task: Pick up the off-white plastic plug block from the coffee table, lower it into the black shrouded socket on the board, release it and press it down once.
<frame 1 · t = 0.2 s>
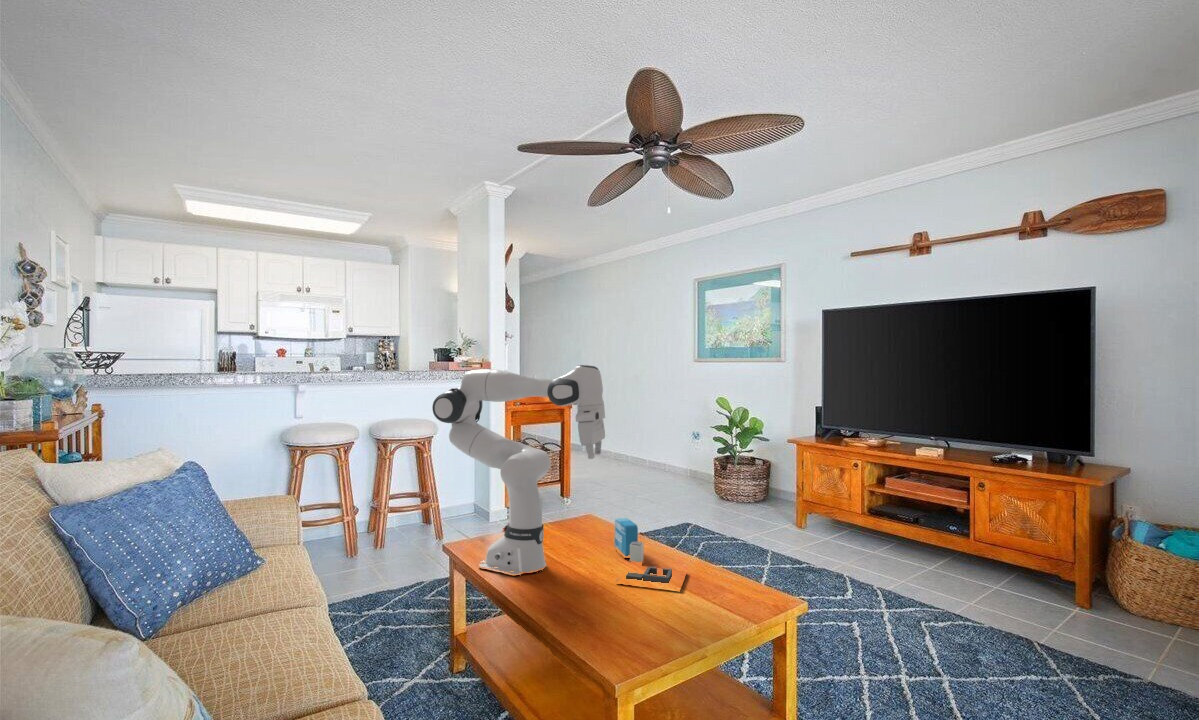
hand: (594, 456, 188), 39 cm above the table, tool pointing down, fingers open, 8 cm apart
plug: (636, 564, 199), on the table
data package: (625, 555, 209), on the table
board: (652, 579, 185), on the table
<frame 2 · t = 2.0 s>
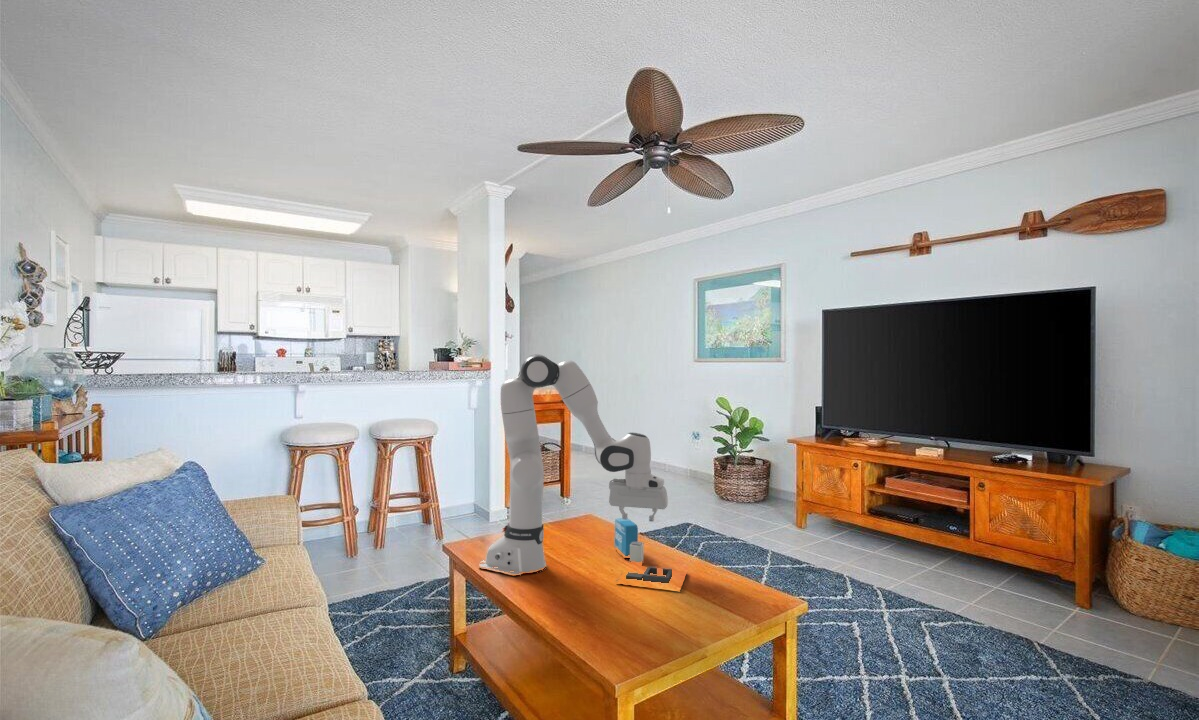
hand: (638, 520, 199), 15 cm above the table, tool pointing down, fingers open, 8 cm apart
nothing on the table moved.
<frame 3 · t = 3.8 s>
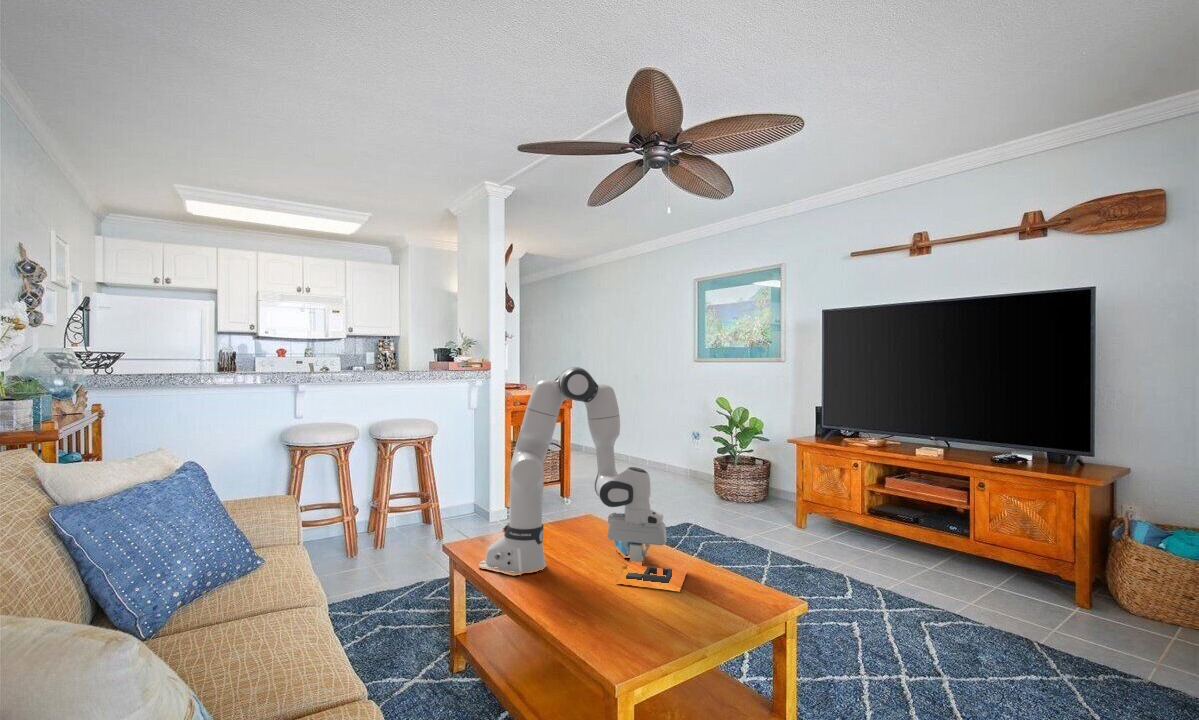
hand: (636, 555, 199), 3 cm above the table, tool pointing down, fingers closed on plug, 4 cm apart
plug: (636, 564, 199), on the table, touching gripper
everything else where it was.
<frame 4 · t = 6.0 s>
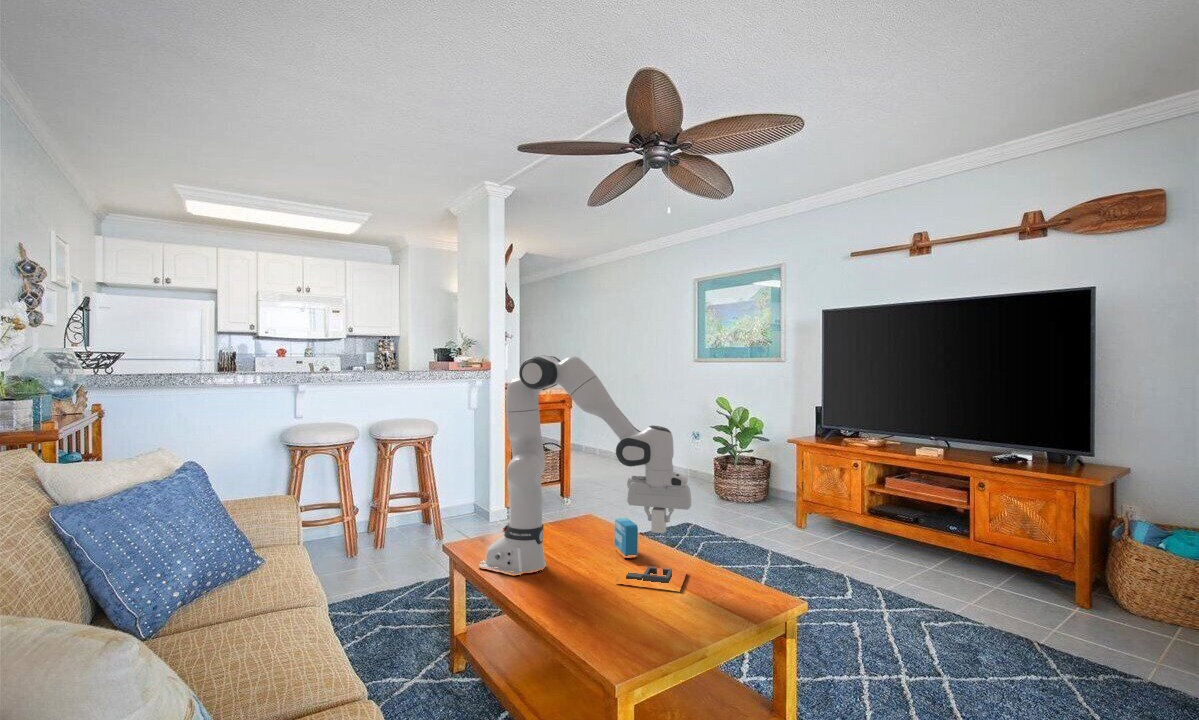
hand: (658, 521, 183), 19 cm above the table, tool pointing down, fingers closed on plug, 4 cm apart
plug: (658, 531, 183), point 16 cm above the table, touching gripper
everything else where it was.
when the fingers open (5 cm above the table, at t = 8.2 s): plug stays where it is, resting on board.
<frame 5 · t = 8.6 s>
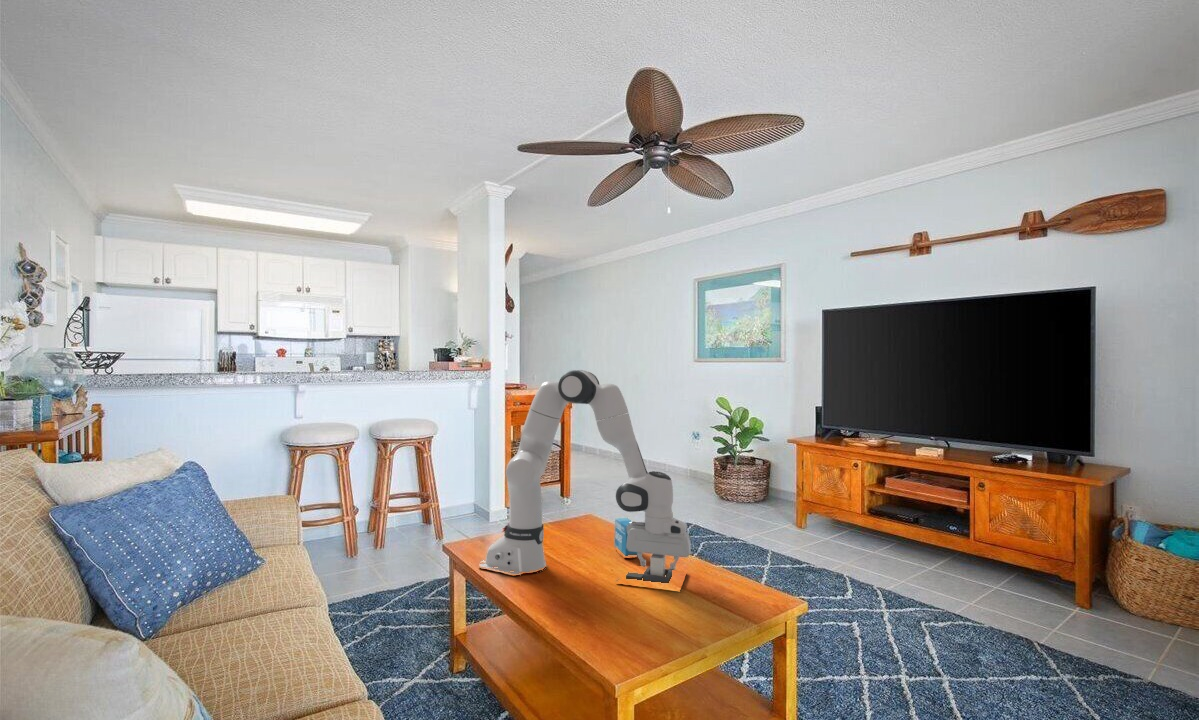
hand: (657, 567, 183), 5 cm above the table, tool pointing down, fingers open, 8 cm apart
plug: (657, 578, 183), point 1 cm above the table, touching board
everything else where it was.
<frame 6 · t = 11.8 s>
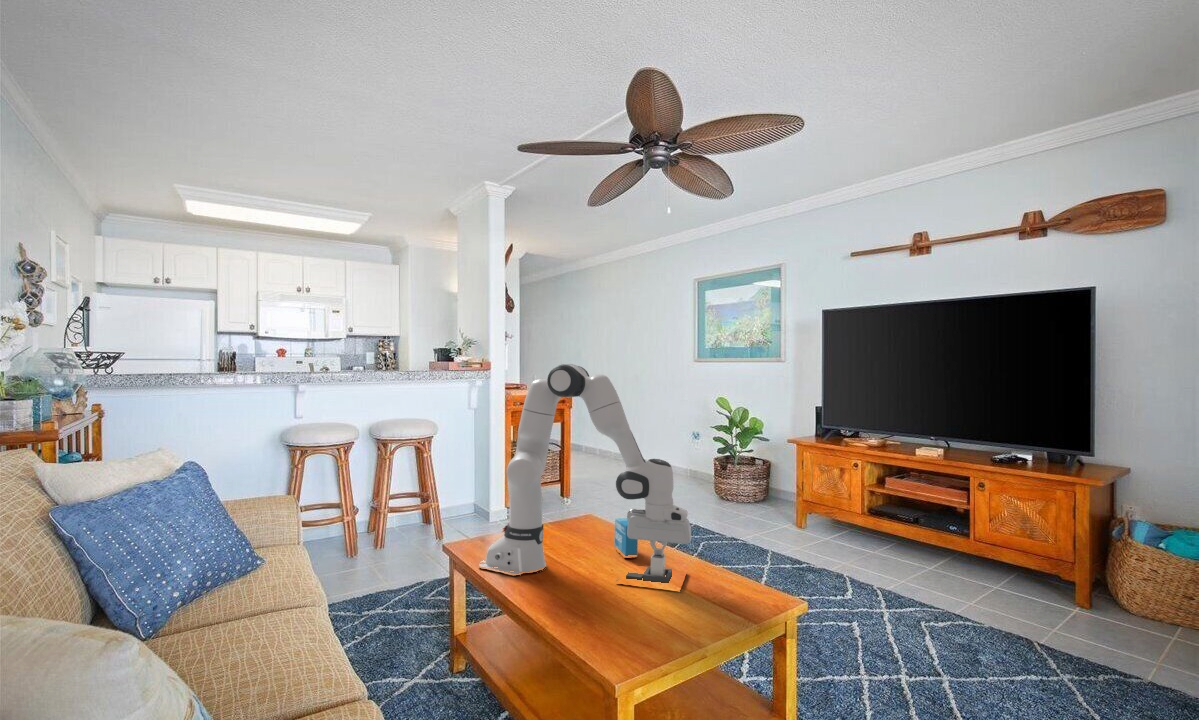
hand: (658, 554, 183), 9 cm above the table, tool pointing down, fingers closed, pressing on plug
plug: (657, 578, 183), point 1 cm above the table, touching board, gripper
everything else where it was.
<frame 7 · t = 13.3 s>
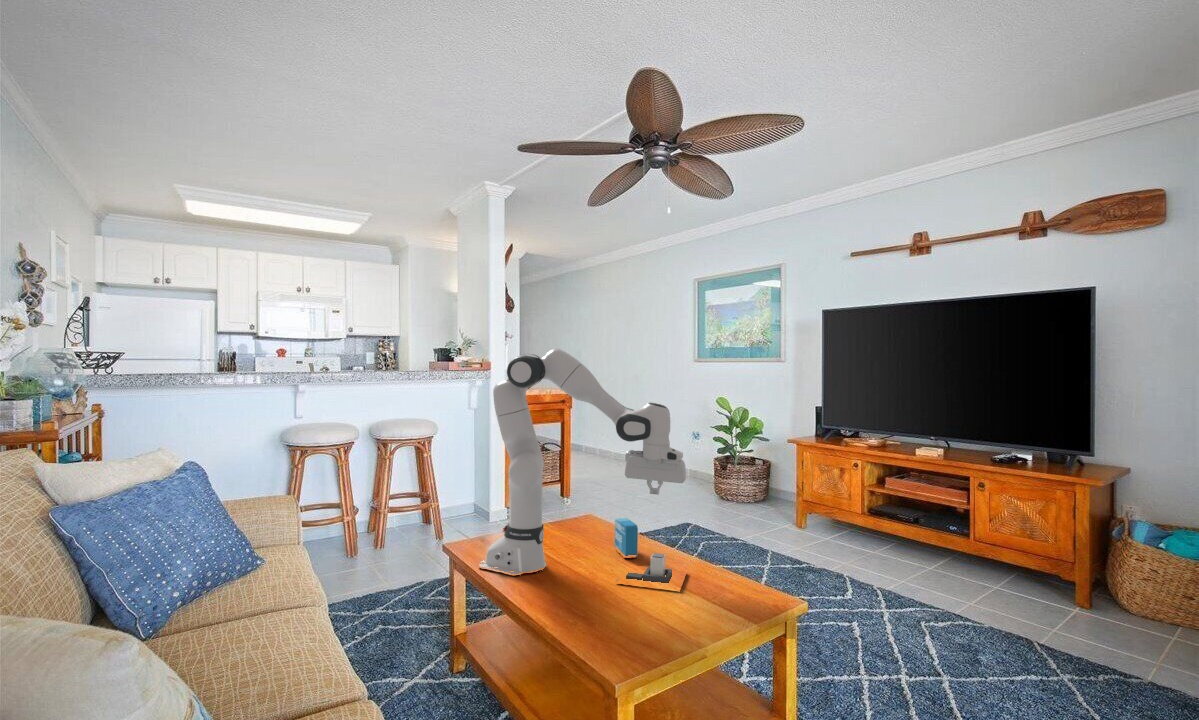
hand: (654, 493, 191), 26 cm above the table, tool pointing down, fingers closed
plug: (657, 578, 183), point 1 cm above the table, touching board
everything else where it was.
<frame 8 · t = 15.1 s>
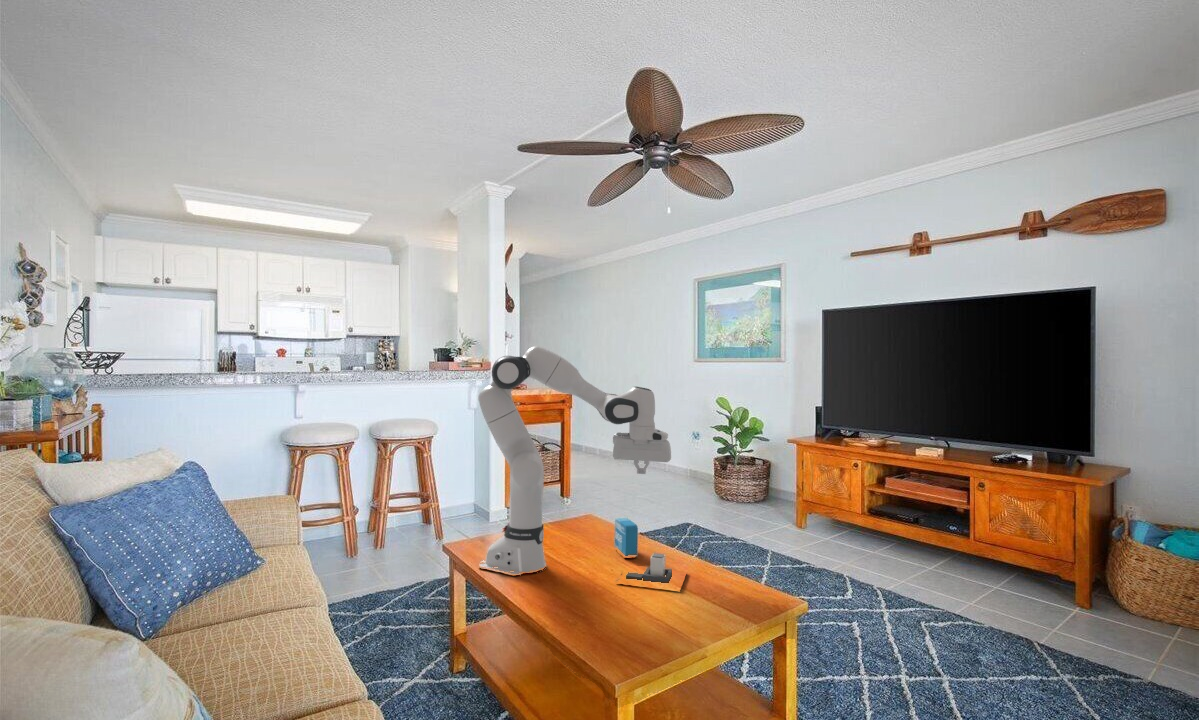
hand: (641, 473, 200), 31 cm above the table, tool pointing down, fingers closed
nothing on the table moved.
at the end: plug 0.1 cm from the target spot on the board, point 1.2 cm above the board's base; plug tilted 0°; the gripper is holding nothing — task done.
